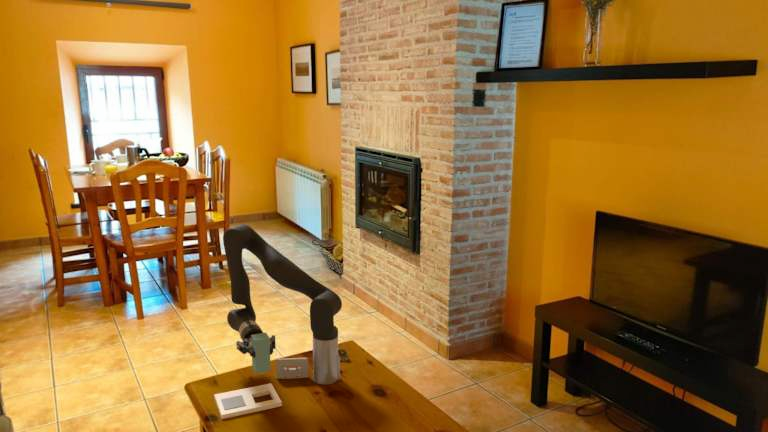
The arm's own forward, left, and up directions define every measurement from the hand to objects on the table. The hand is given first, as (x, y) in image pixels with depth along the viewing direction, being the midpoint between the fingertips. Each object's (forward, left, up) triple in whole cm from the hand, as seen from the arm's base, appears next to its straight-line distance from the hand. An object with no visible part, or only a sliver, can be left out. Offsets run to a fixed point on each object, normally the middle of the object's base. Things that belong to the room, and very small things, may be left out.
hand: (262, 353), depth 193 cm
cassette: (-14, -15, -19) cm, 28 cm away
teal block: (0, -3, -7) cm, 7 cm away
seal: (-34, -25, -19) cm, 46 cm away
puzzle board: (+5, -4, -19) cm, 20 cm away
